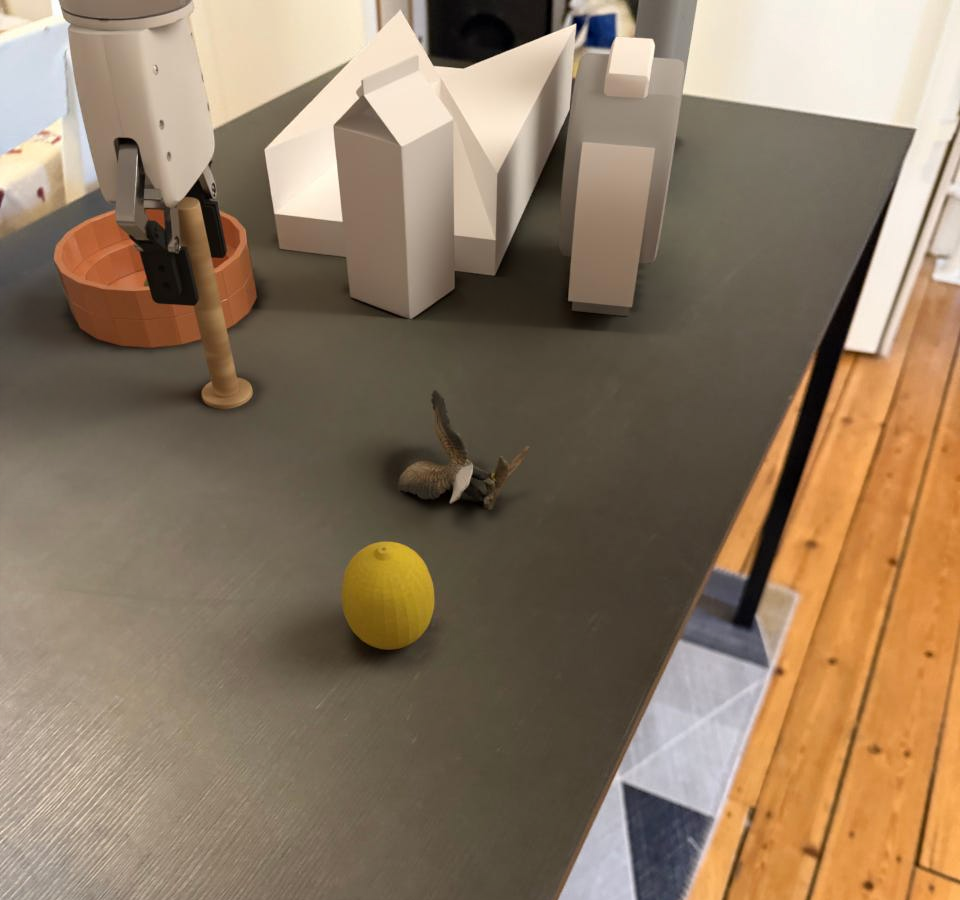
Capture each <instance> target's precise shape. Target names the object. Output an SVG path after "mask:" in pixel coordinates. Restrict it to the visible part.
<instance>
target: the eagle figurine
mask: <svg viewBox="0 0 960 900" xmlns="http://www.w3.org/2000/svg"><path fill="white" fill-rule="evenodd" d="M430 402H431V404H432V409H433V411H434V416H433V417H434V431H435V434H436V436H437V439H438V441H439V443H440V445H441V447H442V448H443V449H444V451H445V453H446V454H447V456H448V458H449V459H450V460H449V462H448V463H447V464H441V463H437V462H433V461H428V460H420V461H417V462H414V463H412V464H411V465H408V466H407V467H406V469H405V470H404V471H403V472H402V473H401V474H400V476H399V479H398V481H397V490H398V492H401V491H402V492H404V493H409V494H413V495H417V497H418V498H420V499H421V500H435V499H437V498H438V499H439V498H440V496H441V494H445V493H446V491H451V490H452V494H451V497H450V500H449V504H450V505H452V504H453V503H454V502H456V501H458V500H459V499H460V498H461V496H462V494H463V492H464V494H466V495H467V496H470V497H471V498H473V499H474V500H477V501H483V507H484V508H485V509H487V510H492V509H493V507H494V505H495V502H496V500H497V499H498V498H499V495H500V493H501V492H502V489H503V488H504V486H505V485H506V483H507V482H508V480H509V479H510V478H511V477H512V475H513V474H514V473H515V471H516V470H517V469H518V468H519V466H520V465H521V463H522V462H523V461H524V459H525V458H526V456H527V453H528V452H529V450H530V446H529V445H526V446H525V447H524V448H523V449H522V450H521V451H520V452H519V453H518V454H517V455H516V456H515V458H514V459H513V460H511V462H510V463H508V461H507V460H506V459H504V457H503V456H502V455H500V456H499V457H498V460H497V462H496V466H495V470H494V472H491V471H486V470H483V469H481V468H479V467H477V466H475V464H473V462H472V461H471V460H469V459H468V453H469V451H468V449H466V445H465V443H464V440H463V438H462V437H461V435H460V433H459V432H458V431H457V432H456V431H455V430H454V429H453V427H452V425H451V419H450V416H449V414H448V412H449V411H448V409H447V400H446V399H445V397H444V396H443V395H442V393H440V392H439V391H438V390H437V389H434V390H433V391H432V392H431V398H430ZM474 479H475V480H477V481H481V482H482V483H483V484H484V486H485V488H486V493H483V492H482V491H481V490H480V489H479V488H477V487H476V486H475V485H474V484H473V482H472V481H473V480H474Z"/></svg>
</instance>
